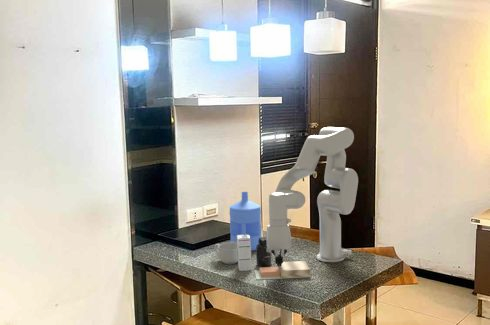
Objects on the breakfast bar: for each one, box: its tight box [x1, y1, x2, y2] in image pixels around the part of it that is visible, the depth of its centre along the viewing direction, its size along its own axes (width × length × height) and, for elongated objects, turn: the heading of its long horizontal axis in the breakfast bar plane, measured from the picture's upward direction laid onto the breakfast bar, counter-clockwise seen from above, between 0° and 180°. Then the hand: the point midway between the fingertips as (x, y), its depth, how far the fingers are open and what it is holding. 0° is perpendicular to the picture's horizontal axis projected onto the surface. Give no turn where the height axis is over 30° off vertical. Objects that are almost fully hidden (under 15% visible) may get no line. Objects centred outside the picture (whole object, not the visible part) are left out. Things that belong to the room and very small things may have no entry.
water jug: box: [229, 191, 262, 252], centre depth 246 cm, size 16×16×28 cm
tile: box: [259, 266, 280, 277], centre depth 207 cm, size 8×6×2 cm
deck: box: [277, 260, 311, 279], centre depth 208 cm, size 12×11×3 cm
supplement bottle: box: [255, 236, 273, 268], centre depth 220 cm, size 7×7×12 cm
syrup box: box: [237, 235, 253, 272], centre depth 215 cm, size 6×6×14 cm
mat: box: [253, 269, 311, 281], centre depth 208 cm, size 22×11×1 cm, turn 94°
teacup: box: [213, 241, 238, 265], centre depth 226 cm, size 14×11×8 cm
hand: (279, 265), depth 207 cm, fingers closed
